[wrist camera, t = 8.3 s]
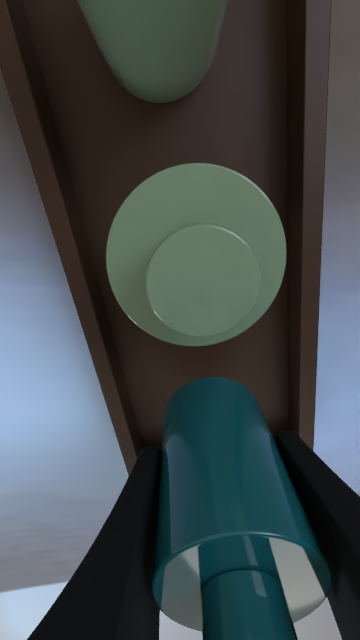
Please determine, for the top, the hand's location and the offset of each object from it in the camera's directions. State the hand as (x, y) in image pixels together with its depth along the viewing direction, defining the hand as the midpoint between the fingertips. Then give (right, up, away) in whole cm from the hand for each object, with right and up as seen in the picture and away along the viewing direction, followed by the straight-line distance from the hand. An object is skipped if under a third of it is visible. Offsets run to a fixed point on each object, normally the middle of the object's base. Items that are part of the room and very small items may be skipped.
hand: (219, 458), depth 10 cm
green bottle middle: (-1, +9, +2) cm, 9 cm away
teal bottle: (0, +1, +2) cm, 2 cm away
